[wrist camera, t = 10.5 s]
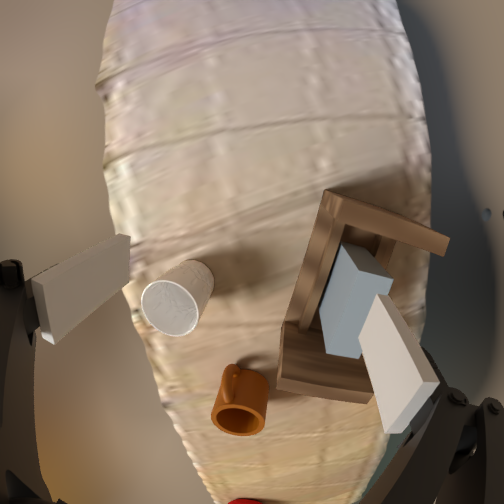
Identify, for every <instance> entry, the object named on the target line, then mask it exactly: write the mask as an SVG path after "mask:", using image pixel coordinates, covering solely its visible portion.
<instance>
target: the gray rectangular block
mask: <svg viewBox="0 0 504 504" xmlns="http://www.w3.org/2000/svg"><path fill="white" fill-rule="evenodd" d="M393 280H394V279H393V278H392V277H391V276H390V275H389V274H388V272H387V271H386V270H385V269H384V268H383V267H382V266H381V264H380V263H379V262H378V261H377V260H376V259H375V258H374V257H373V256H372V255H371V253H370V252H369V251H368V250H367V249H366V248H364V247H361V246H357V245H353V244H350V243H346V242H342V241H340V242H339V245H338V248H337V251H336V254H335V257H334V260H333V263H332V266H331V269H330V272H329V275H328V278H327V281H326V284H325V286H324V289H323V292H322V295H321V298H320V301H319V304H318V307H319V313H320V319H321V324H322V330H323V336H324V342H325V348H326V353H327V354H333V355H338V356H344V357H350V358H356V359H359V357H360V355H361V353H362V348H361V345H360V342H359V339H358V337H359V335H360V332H361V330H362V328H363V326H364V323H365V321H366V319H367V316H368V314H369V311H370V309H371V306H372V304H373V301H374V299H375V296H376V294H381V295H386V296H387V295H388V293H389V290H390V288H391V285H392V283H393Z"/></svg>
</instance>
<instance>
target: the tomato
mask: <svg viewBox="0 0 504 504" xmlns="http://www.w3.org/2000/svg"><path fill="white" fill-rule="evenodd" d="M228 504H262V503H260V502H258V501H255V500H249V499H236V500H233V501H231V502H229V503H228Z"/></svg>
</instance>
